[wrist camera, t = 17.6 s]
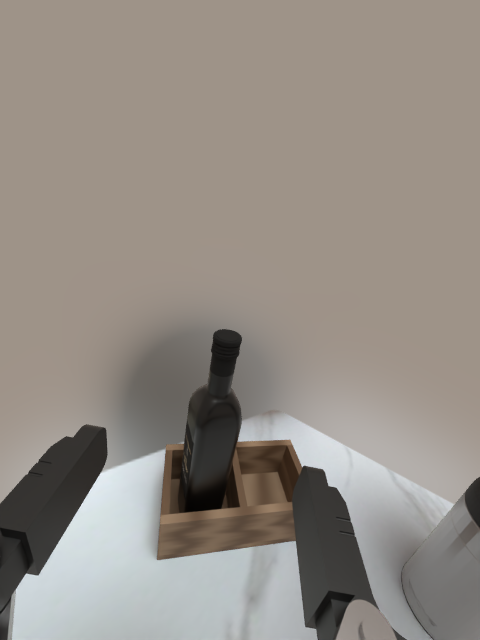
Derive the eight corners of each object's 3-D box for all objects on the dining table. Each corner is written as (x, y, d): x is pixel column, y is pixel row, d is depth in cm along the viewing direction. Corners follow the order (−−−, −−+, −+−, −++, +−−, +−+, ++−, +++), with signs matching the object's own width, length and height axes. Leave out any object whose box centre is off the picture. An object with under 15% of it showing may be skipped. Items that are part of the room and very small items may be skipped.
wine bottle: (182, 535, 36) (208, 351, 24) (176, 494, 40) (195, 323, 28) (221, 522, 38) (263, 348, 26) (211, 485, 43) (242, 323, 31)
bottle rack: (279, 470, 48) (290, 439, 45) (303, 539, 39) (318, 507, 35) (163, 478, 43) (166, 444, 40) (157, 560, 34) (159, 524, 30)
